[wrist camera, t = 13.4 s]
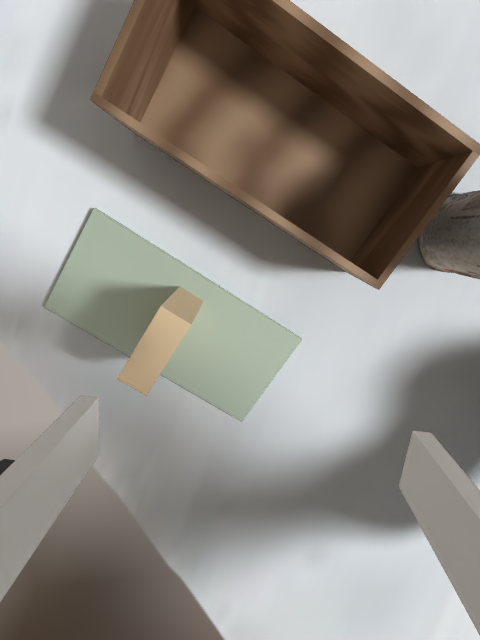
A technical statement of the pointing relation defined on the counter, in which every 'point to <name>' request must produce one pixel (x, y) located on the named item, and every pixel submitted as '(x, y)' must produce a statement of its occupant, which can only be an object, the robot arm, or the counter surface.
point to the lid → (168, 319)
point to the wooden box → (287, 124)
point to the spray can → (454, 236)
